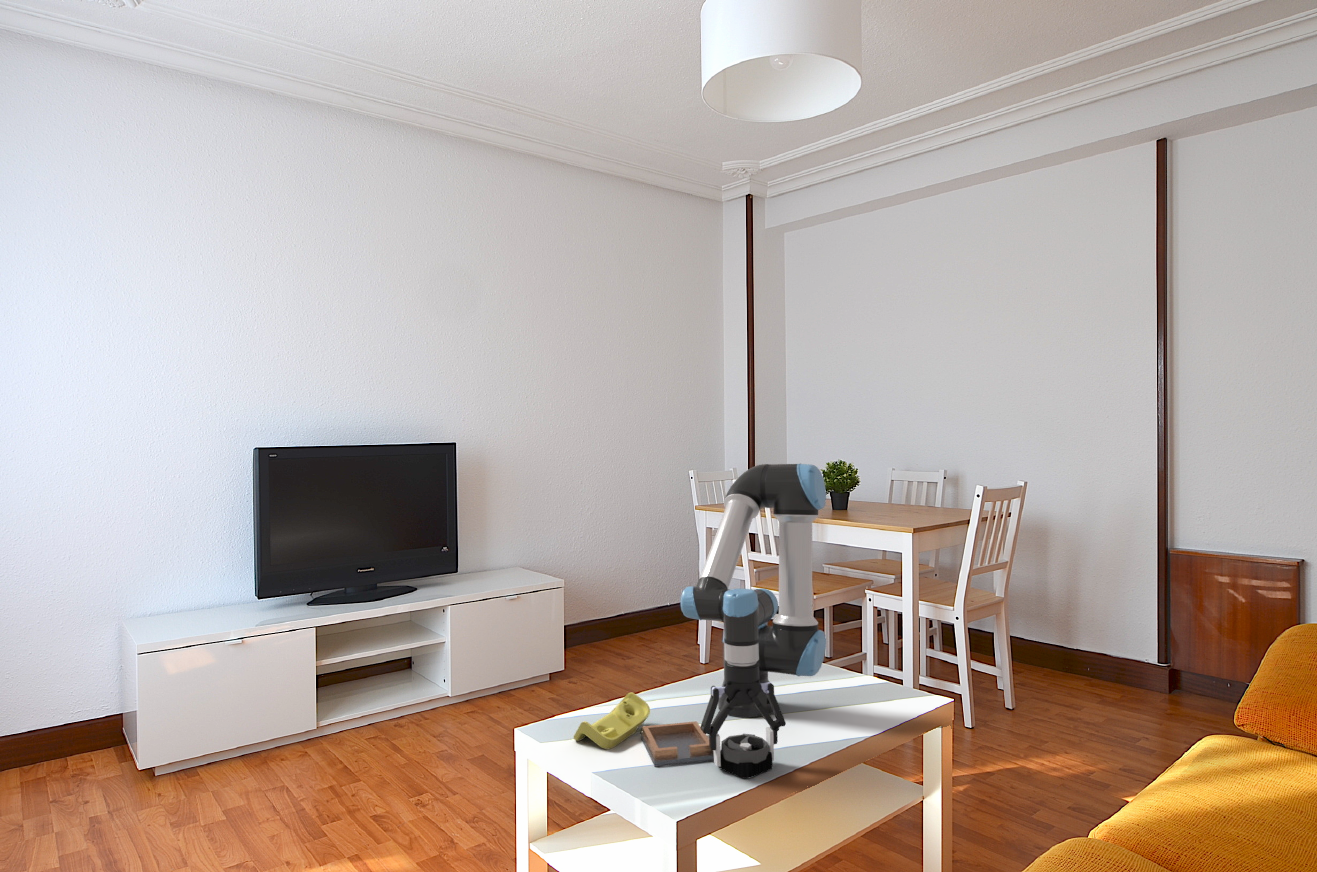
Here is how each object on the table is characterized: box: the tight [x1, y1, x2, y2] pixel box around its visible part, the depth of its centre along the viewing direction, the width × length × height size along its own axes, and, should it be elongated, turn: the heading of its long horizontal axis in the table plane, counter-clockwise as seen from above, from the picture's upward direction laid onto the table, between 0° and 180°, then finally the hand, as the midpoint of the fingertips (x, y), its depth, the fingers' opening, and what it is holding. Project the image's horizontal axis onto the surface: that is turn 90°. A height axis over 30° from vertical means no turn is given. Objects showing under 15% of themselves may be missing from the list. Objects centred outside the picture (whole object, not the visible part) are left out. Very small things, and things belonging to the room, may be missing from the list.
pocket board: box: [639, 721, 714, 768], centre depth 186 cm, size 14×18×3 cm
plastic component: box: [573, 692, 651, 750], centre depth 196 cm, size 20×7×10 cm
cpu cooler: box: [717, 733, 773, 779], centre depth 174 cm, size 10×6×10 cm
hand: (744, 761), depth 174 cm, fingers closed on cpu cooler, 11 cm apart
